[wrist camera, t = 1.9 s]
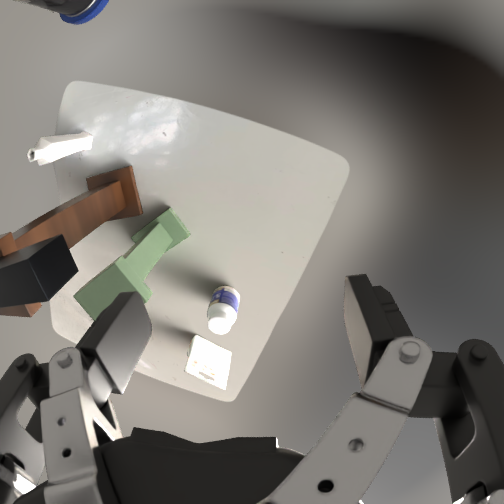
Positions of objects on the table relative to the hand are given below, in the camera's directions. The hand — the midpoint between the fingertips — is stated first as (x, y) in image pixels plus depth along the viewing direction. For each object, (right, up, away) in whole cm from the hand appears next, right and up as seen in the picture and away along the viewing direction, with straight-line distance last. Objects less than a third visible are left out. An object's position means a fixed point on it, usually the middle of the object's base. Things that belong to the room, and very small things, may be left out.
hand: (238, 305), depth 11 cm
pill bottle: (-4, -7, +46) cm, 47 cm away
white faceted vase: (-30, +22, +34) cm, 51 cm away
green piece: (-16, +5, +41) cm, 44 cm away
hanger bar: (-23, 0, +8) cm, 24 cm away
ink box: (-8, -19, +52) cm, 56 cm away
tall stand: (-25, +12, +38) cm, 47 cm away
